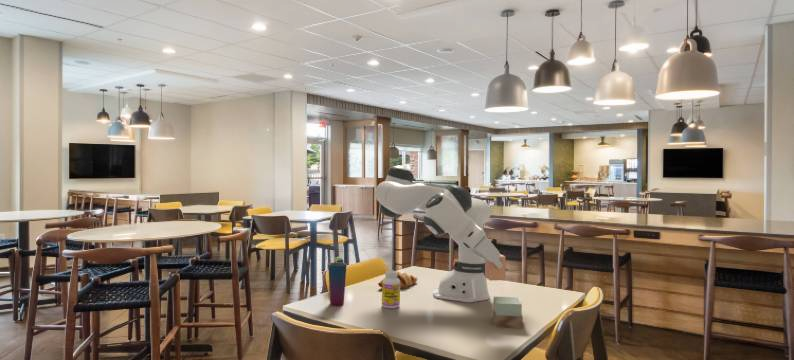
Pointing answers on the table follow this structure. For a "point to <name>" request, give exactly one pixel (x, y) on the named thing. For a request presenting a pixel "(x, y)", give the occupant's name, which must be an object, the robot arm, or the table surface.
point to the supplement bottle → (391, 290)
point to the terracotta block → (495, 270)
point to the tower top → (507, 306)
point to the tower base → (508, 321)
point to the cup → (337, 282)
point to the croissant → (404, 280)
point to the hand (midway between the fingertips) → (497, 264)
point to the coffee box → (338, 259)
